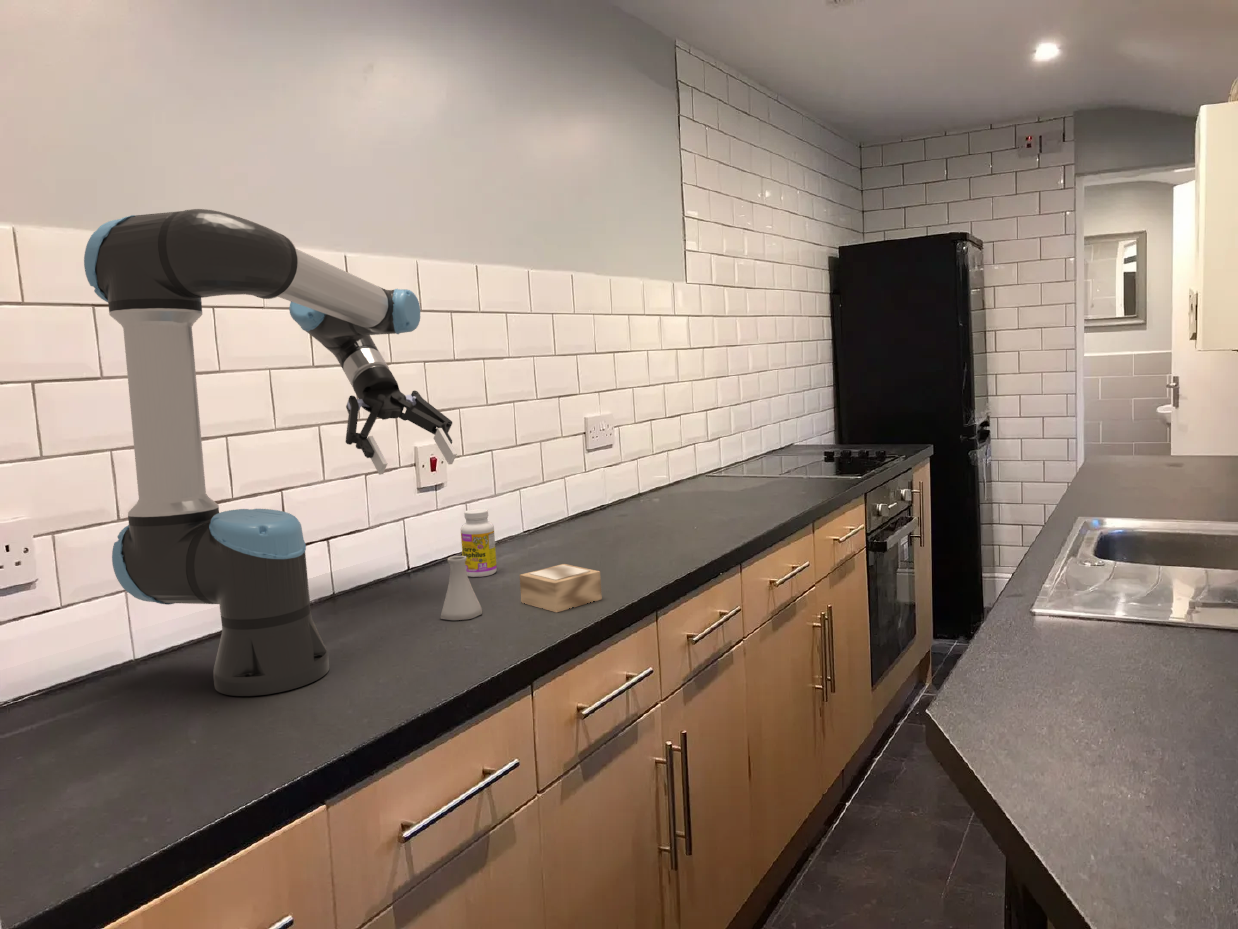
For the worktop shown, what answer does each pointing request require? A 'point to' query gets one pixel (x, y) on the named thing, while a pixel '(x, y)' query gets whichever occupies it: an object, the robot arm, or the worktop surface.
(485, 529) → the supplement bottle
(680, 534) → the worktop surface
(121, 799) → the worktop surface
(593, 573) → the oak plinth
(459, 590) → the flask
